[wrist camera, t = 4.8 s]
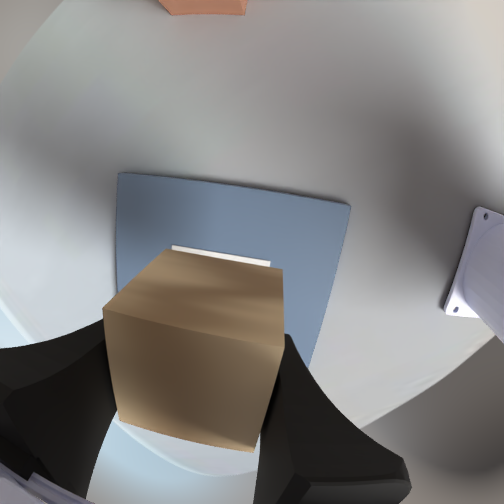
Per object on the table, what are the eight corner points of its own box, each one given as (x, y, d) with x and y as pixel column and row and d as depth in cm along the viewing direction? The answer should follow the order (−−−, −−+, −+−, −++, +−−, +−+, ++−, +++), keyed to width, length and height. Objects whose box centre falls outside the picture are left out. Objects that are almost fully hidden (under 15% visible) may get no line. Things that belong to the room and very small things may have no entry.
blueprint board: (348, 204, 17) (351, 206, 16) (299, 385, 22) (300, 391, 21) (122, 172, 18) (117, 173, 17) (126, 351, 22) (123, 356, 22)
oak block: (282, 269, 12) (284, 347, 7) (262, 362, 13) (253, 452, 8) (165, 248, 12) (102, 307, 7) (163, 342, 13) (119, 420, 8)
